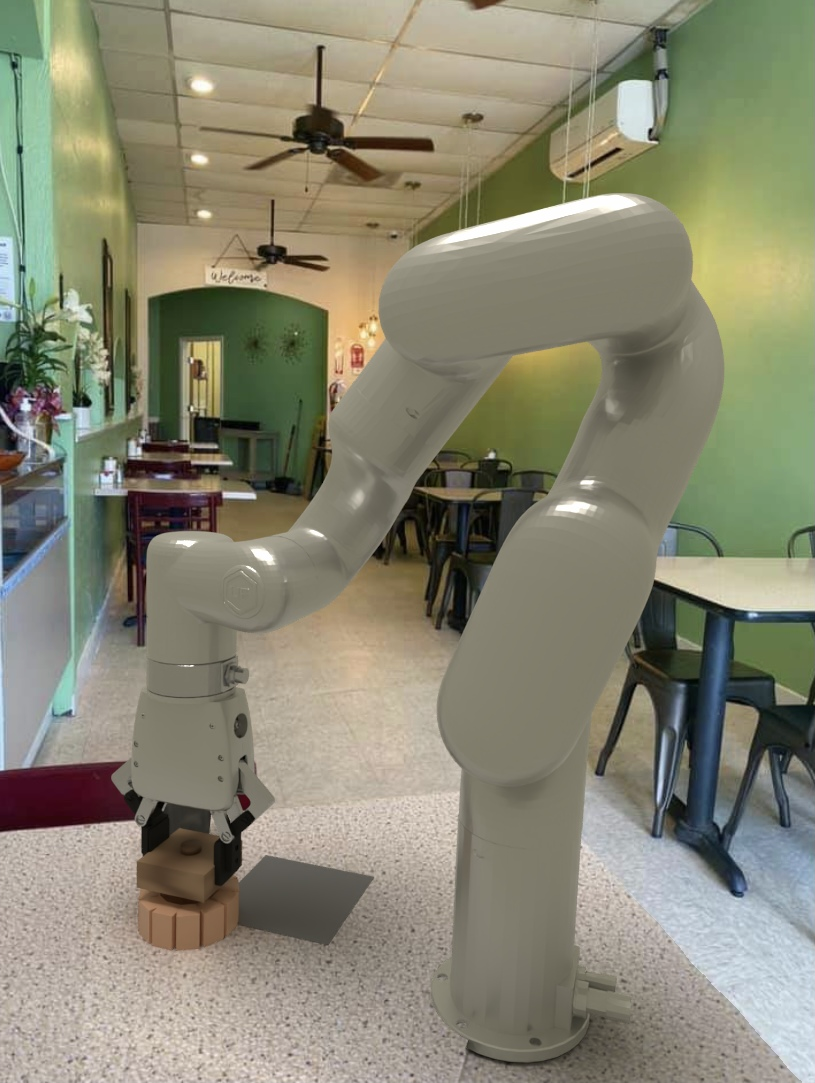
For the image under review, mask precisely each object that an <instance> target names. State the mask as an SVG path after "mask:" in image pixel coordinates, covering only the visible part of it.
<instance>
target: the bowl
mask: <svg viewBox="0 0 815 1083" xmlns="http://www.w3.org/2000/svg"><path fill="white" fill-rule="evenodd" d="M239 882H240V880H239V878H238V876H236V874H234V875H233V876H232V877H231V878H230V879H229V880H228V881H227V882H225V883H224V884H223V885H222V886H220V887H219V888H218V889H217V890H216V891H215V892H214V893H213V894H212V895H211V896H210V897H209V898H208V899H207V900H206V901H205V902H199V901H195V900H190V899H186V898H181V897H177V896H172V895H168V894H163V893H159V892H154V891H150V890H145V889H141V888H139V894H138V898H137V899H138V900H137V902H138V904H137V905H138V906H137V907H138V908H137V909H138V913H137V914H138V916H137V917H138V918H137V920H138V922H137V923H138V927H137V928H138V935H139V936H140V937H141V938H142V939H143V940H144V941H145V942H146V943H147V944H148V945H150V944H151V946H152V947H155V948H158V949H164V950H167V951H173V950H174V949H175V948H176V949H175V951H176V952H180V951H188V950H198V949H199V950H200V945H201V946H202V947H203V948H206V947H208V946H210V945H213V944H216V943H217V942H219V941H222V940H224V937H226V938H227V937H228V936H229V935H230V934H231V933H232V932H233V931H234V930H235V929H236V927H237V926H238V922H239Z"/></svg>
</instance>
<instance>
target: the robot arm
mask: <svg viewBox="0 0 815 1083" xmlns="http://www.w3.org/2000/svg"><path fill="white" fill-rule="evenodd" d="M686 230H687V229H686V228H685V226H684V224H683V222H682V221H680V219H679V218H678V216H677V215H676V214H675V213H674V211H672V210H671V209H669V208H668V207H667V206H666V205H665V204H664V203H661V202H660V201H658V200H655V199H654V198H652V197H648V196H645V195H640V194H636V193H631V192H630V193H629V192H628V193H626V192H622V193H621V192H620V193H619V192H617V193H616V192H614V193H604V194H598V195H591V196H588V197H587V196H586V197H583V198H580V199H575V200H570V201H567V202H564V203H559V204H557V205H552V206H548V207H544V208H542V209H540V208H539V209H536V210H533V211H528V212H525V213H522V214H517V215H513V216H508V217H505V218H500V219H497V220H496V219H495V220H493V221H488V222H485V223H480V224H477V225H472V226H469V227H466V228H462V229H458V230H454V231H451V232H447V233H444V234H441V235H438V236H435V237H433V238H430V239H428V240H425V241H423V242H420V243H419V244H417V245H415V246H413V247H412V248H410V250H408V251H407V252H405V253H404V254H403V255H402V256H400V258H399V259H398V260H397V261H396V262H395V263H394V264H393V266H392V267H391V269H390V270H389V271H388V272H387V274H386V277H385V278H384V281H383V284H382V286H381V290H380V292H379V298H378V312H377V314H378V318H379V323H380V324H379V325H380V328H381V330H382V333H383V336H384V340H383V341H382V343H381V344H380V345H379V347H378V348H377V350H376V351H375V352H374V354H373V355H372V357H371V358H370V359H369V360H368V362H367V364H365V366H364V367H363V369H362V370H361V372H360V373H359V375H357V377H356V378H355V380H354V381H353V382H352V384H351V385H350V386H349V388H348V389H347V390H346V392H345V393H344V395H343V396H342V397H341V398H340V400H339V401H338V402H337V403H336V405H335V407H333V409H332V411H331V413H330V415H329V418H328V423H327V424H328V426H327V427H328V435H329V439H330V445H331V461H330V465H329V468H328V471H327V473H326V475H325V478H324V480H323V483H321V485H320V487H319V489H318V491H317V492H316V494H315V495H314V496H313V498H312V499H311V501H310V502H309V504H308V505H307V507H306V508H305V509H304V511H302V513H301V514H300V516H299V517H298V518H297V520H296V521H295V522H294V524H293V525H292V526H291V527H290V529H289V530H287V532H282V533H276V534H273V535H268V536H264V537H260V538H254V539H249V540H242V541H234V540H233V539H232V538H231V537H230V536H229V535H226V534H223V533H220V532H213V531H212V532H211V531H203V530H202V531H201V530H198V531H197V530H190V531H189V530H182V531H181V530H180V531H179V530H178V531H169V532H164V533H160V534H158V535H156V536H154V537H153V538H152V539H151V540H150V542H149V544H148V546H147V549H146V659H145V660H146V667H145V668H146V670H145V671H146V685H145V686H143V687H142V688H141V690H140V694H139V697H138V702H137V707H136V712H135V718H134V723H133V733H132V743H131V757H130V758H129V759H128V760H127V761H125V763H123V764H122V765H120V767H118V769H116V770H115V771H114V772H113V773H112V774H111V777H110V778H111V781H112V783H113V784H114V786H115V787H116V788H117V790H118V791H119V792H120V794H121V795H123V801H124V802H125V804H126V805H127V806H128V807H129V808H130V810H131V811H132V813H133V814H134V815H135V816H134V822H135V823H136V825H137V826H139V827H140V831H141V832H140V838H141V839H140V840H141V843H140V845H141V846H140V852H141V854H142V857H143V856H144V855H145V854H147V853H148V852H151V851H152V850H154V849H155V848H156V847H158V846H159V845H160V844H161V843H163V842H164V841H165V840H167V839H168V838H169V818H168V814H165V813H163V811H164V809H165V806H166V804H167V803H170V804H175V805H181V806H186V807H192V808H197V809H203V810H209V811H210V812H211V819H212V820H213V822H214V825H215V828H216V830H217V834H218V836H220V838H219V839H218V840H217V841H216V842H215V843H214V865H215V885H218V886H222V885H223V884H224V883H225V882H227V881H228V880H229V879H230V878H231V877H232V876H233V875H236V873H237V872H238V871H239V869H240V868H241V867H240V864H241V840H242V833H244V831H245V830H246V829H248V828H249V827H250V826H251V825H252V824H253V823H254V822H256V820H258V819H259V818H260V817H261V816H262V815H263V814H264V813H265V812H266V811H267V810H268V809H270V807H272V806H273V805H274V804H275V803H276V802H275V801H276V798H275V796H274V795H273V794H272V792H271V791H270V790H269V789H268V787H267V786H266V785H265V784H264V783H263V782H262V781H261V779H260V778H259V777H258V775H257V774H256V773H255V772H256V771H255V770H256V768H255V752H254V751H255V749H254V736H253V735H254V734H253V726H252V720H251V713H250V706H249V703H248V698H247V694H246V690H245V689H244V688H241V687H238V686H237V685H238V684H242V685H246V684H247V683H248V681H249V678H250V670H249V668H246V667H242V666H241V665H239V656H238V655H237V652H238V651H237V647H238V646H237V643H238V642H237V639H238V638H237V636H238V634H237V633H238V631H239V632H242V633H247V634H255V635H256V634H257V635H259V634H267V633H268V634H269V633H272V632H275V631H278V630H280V629H282V628H285V627H287V626H289V625H291V624H294V623H296V622H297V621H299V620H300V619H303V618H305V617H307V616H310V615H312V614H314V613H317V612H318V611H321V610H323V609H325V608H326V607H328V606H329V605H330V604H332V603H333V602H334V601H335V600H336V599H337V598H338V597H339V596H340V595H341V594H343V593H342V592H343V591H345V589H346V588H347V587H348V586H349V585H350V583H351V582H352V580H353V579H354V578H355V577H356V576H357V574H358V573H359V572H360V570H361V569H362V568H363V567H364V566H365V564H366V563H367V562H368V561H369V560H370V559H371V557H372V555H373V554H374V553H375V552H376V550H377V549H378V547H379V546H380V545H381V543H382V542H383V541H384V539H385V538H386V536H387V534H388V533H389V531H390V530H391V528H392V526H393V525H394V523H395V521H396V520H397V518H398V516H399V515H400V513H401V511H402V509H404V506H405V504H406V503H407V502H408V500H409V498H410V496H411V494H412V492H413V489H414V487H415V485H416V483H417V482H418V481H419V479H420V477H421V476H422V475H423V474H424V472H425V471H426V470H427V469H428V467H429V466H430V464H431V463H432V462H433V460H434V459H435V458H436V456H437V455H438V454H439V453H440V451H441V450H442V448H443V447H444V446H445V445H446V443H447V442H448V441H449V439H450V438H451V437H452V436H453V434H454V433H455V432H456V431H457V429H458V428H459V427H460V426H461V424H462V423H463V422H464V420H465V419H466V418H467V416H469V414H470V413H471V412H472V410H473V409H474V408H475V406H476V405H477V404H478V403H479V401H480V400H481V399H482V398H483V397H484V394H486V392H487V391H488V390H489V389H490V387H491V386H492V384H494V382H495V381H496V380H497V378H498V377H499V376H500V374H501V373H502V372H503V370H504V369H505V367H506V366H507V365H508V363H509V362H510V361H511V359H513V356H518V355H524V354H529V353H536V352H542V351H545V350H551V349H556V348H560V347H565V346H571V345H572V346H573V345H576V344H581V343H589V345H590V346H592V348H594V350H596V351H597V353H598V355H599V358H600V364H601V375H600V380H599V383H598V386H597V388H596V391H595V394H594V397H593V399H592V400H591V402H590V404H589V406H588V407H587V410H586V412H585V414H584V416H583V418H582V421H581V422H580V425H579V428H578V431H577V433H576V436H575V439H574V441H573V443H572V445H571V447H570V450H569V452H568V454H567V456H566V458H565V461H564V462H563V465H562V467H561V469H560V471H559V473H558V474H557V477H556V479H555V481H554V483H553V485H552V487H551V489H550V490H549V492H548V493H547V495H546V496H545V497H542V498H541V499H539V500H538V501H536V502H535V503H533V504H532V505H531V506H530V507H529V508H528V509H527V510H525V511H524V512H523V514H522V515H521V516H520V517H519V518H518V520H516V521H515V524H514V525H513V527H512V528H511V529H510V531H509V533H508V534H507V536H506V538H505V539H504V542H503V543H502V546H501V547H500V550H499V552H498V554H497V556H496V558H495V560H494V561H493V565H492V567H491V568H490V571H489V574H488V575H487V578H486V580H485V582H484V585H483V587H482V589H481V592H480V593H479V596H478V598H477V601H476V603H475V605H474V608H473V609H472V612H471V614H470V615H469V618H468V620H467V622H466V625H465V627H464V629H463V631H462V634H461V636H460V638H459V640H458V643H457V644H456V647H455V650H454V652H453V654H452V656H451V659H450V660H449V663H448V666H447V667H446V669H445V672H444V675H443V677H442V680H441V682H440V686H439V690H438V693H437V700H436V720H437V726H438V730H439V734H440V737H441V740H442V742H443V745H444V747H445V749H446V751H447V752H448V754H449V756H450V757H451V759H453V761H454V762H455V763H456V764H457V766H459V768H461V770H460V771H461V773H460V784H459V799H458V800H459V801H458V815H457V835H456V853H455V856H456V858H455V873H454V874H455V876H454V892H453V894H454V896H453V897H454V898H453V916H452V938H451V953H450V954H451V956H450V957H448V958H447V959H446V960H445V961H444V962H442V963H441V964H440V965H439V966H438V968H437V969H436V970H435V972H434V974H433V976H432V979H431V982H430V999H431V1002H432V1003H431V1004H432V1005H433V1008H434V1009H435V1012H436V1014H437V1015H438V1017H439V1018H440V1020H442V1021H443V1022H444V1024H445V1025H446V1026H447V1027H449V1028H450V1030H452V1031H453V1032H454V1033H456V1034H457V1035H458V1036H461V1037H462V1038H463V1039H465V1040H467V1042H466V1045H465V1048H467V1049H468V1050H470V1051H473V1052H474V1053H476V1054H478V1055H482V1056H484V1057H488V1058H489V1059H492V1060H498V1061H499V1060H500V1061H504V1062H511V1063H534V1062H544V1061H546V1060H551V1059H555V1058H558V1057H559V1056H562V1055H563V1054H564V1055H565V1054H566V1053H567V1052H570V1051H572V1049H573V1048H575V1047H576V1046H577V1045H578V1044H580V1043H581V1041H582V1040H583V1038H584V1037H585V1036H586V1034H587V1031H588V1028H589V1025H590V1016H591V1015H592V1016H597V1017H601V1018H605V1020H610V1021H613V1022H618V1023H622V1024H627V1025H630V1022H631V1009H632V1007H631V1006H632V995H630V994H625V993H620V992H616V989H617V976H616V975H612V974H608V973H603V972H595V971H590V970H587V966H584V965H580V954H581V947H580V946H578V945H575V938H576V937H575V935H576V925H577V924H576V921H577V908H578V907H577V906H578V891H579V877H580V865H581V864H580V863H581V862H580V860H581V848H582V847H581V845H582V832H583V826H584V811H585V810H584V809H585V795H586V783H587V772H588V759H589V758H588V756H589V748H590V739H591V727H592V719H593V712H594V710H595V708H596V707H597V704H598V702H599V700H600V699H601V696H602V694H603V693H604V690H605V689H606V687H607V684H608V682H609V681H610V679H611V677H612V674H613V673H614V671H615V668H616V666H617V664H618V662H619V660H620V658H621V657H622V654H623V653H624V651H625V649H626V647H627V644H628V642H629V641H630V638H631V637H632V634H633V632H634V630H635V629H636V627H637V625H638V622H639V620H640V618H641V616H642V614H643V611H644V609H645V607H646V604H647V602H648V599H649V597H650V594H651V592H652V589H653V585H654V581H655V577H656V571H657V570H656V569H657V560H658V551H659V548H660V545H661V543H662V541H663V538H664V536H665V533H666V531H667V529H668V527H669V525H670V522H671V520H672V519H673V516H674V514H675V512H676V509H677V508H678V507H679V506H678V505H679V503H680V502H681V499H682V498H683V496H684V493H685V492H686V489H687V487H688V484H689V482H690V480H691V478H692V477H691V476H692V474H693V472H694V470H695V468H696V466H697V464H698V462H699V459H700V456H701V454H702V452H703V451H704V448H705V445H706V443H707V441H708V438H709V436H710V434H711V431H712V428H713V426H714V424H715V420H716V417H717V415H718V412H719V408H720V404H721V401H722V396H723V391H724V390H723V389H724V386H725V385H724V382H725V358H724V357H725V356H724V350H723V344H722V339H721V335H720V332H719V329H718V325H717V322H716V319H715V317H714V314H712V311H711V310H710V308H709V306H708V304H707V302H706V300H705V299H704V297H703V295H702V294H701V292H700V291H699V290H698V288H697V286H696V285H695V283H694V282H693V280H692V278H693V271H694V267H693V266H694V260H693V259H694V258H693V256H694V254H693V249H692V244H691V240H690V237H689V235H688V233H687V231H686ZM238 795H241V796H242V795H245V796H246V797H247V798H248V799H249V801H250V805H249V806H248V807H247V808H245V810H243V807H242V805H241V802H240V799H239V796H238ZM440 977H444V978H446V979H444V980H441V979H440ZM458 1024H465V1025H466V1026H465V1027H460V1026H458Z"/></svg>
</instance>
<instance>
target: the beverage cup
mask: <svg viewBox="0 0 815 1083" xmlns="http://www.w3.org/2000/svg"><path fill="white" fill-rule="evenodd" d="M163 813H165V814H168V818H169V836H170V835H171V834H172V833H174V832H175V831H176V830H178V829H179V828H181V829H187V830H192V831H197V832H202V833H207V834H211V833H210V832H211V822H212V820H211V819H212V815H211V812H210V811H209V810H203V809H197V808H192V807H186V806H181V805H175V804H170V803H167V804H166V806H165V809H164V811H163Z"/></svg>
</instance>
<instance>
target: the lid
mask: <svg viewBox="0 0 815 1083" xmlns="http://www.w3.org/2000/svg"><path fill="white" fill-rule="evenodd" d="M219 838H220V836H219V835H217V834H212V833H209V834H207V833H202V832H197V831H192V830H187V829H181V828H179V829H178V830H176V831H175V832H174V833H172V834H171V835H170V836H169V838H168V839H167V840H165V841H164V842H163V843H161V844H160V845H159V846H158V847H156V848H155V849H154V850H152V851H151V852H148V853H147V854H145V855H144V856H143V855H142V857H141V858H139V859H138V860H136V888H137V889H140V888H141V889H145V890H150V891H154V892H159V893H163V894H168V895H172V896H177V897H181V898H186V899H190V900H195V901H199V902H205V901H206V900H207V899H208V898H209V897H210V896H211V895H212V894H213V893H214V892H215V891H216V890H217V889H218V888H219V887H220V886H218V885H215V865H214V843H215V842H216V841H217V840H218V839H219ZM242 866H243V840H242V839H241V864H240V868H241V867H242Z"/></svg>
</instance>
